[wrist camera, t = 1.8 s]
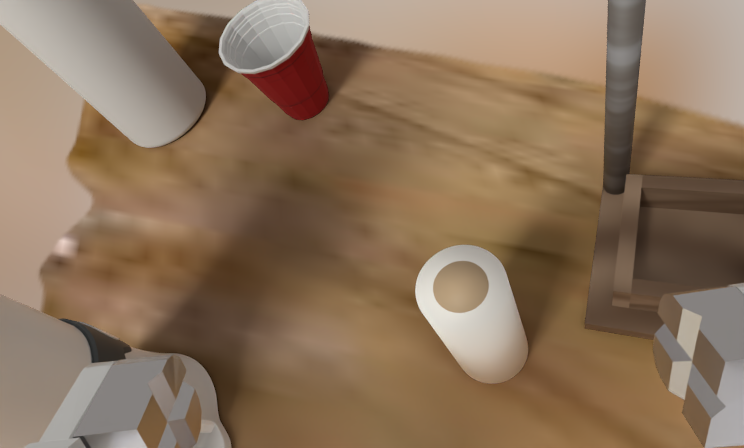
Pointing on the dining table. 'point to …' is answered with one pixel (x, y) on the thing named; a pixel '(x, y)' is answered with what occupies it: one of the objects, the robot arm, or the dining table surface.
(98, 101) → the cylinder vase
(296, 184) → the dining table surface
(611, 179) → the roll holder
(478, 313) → the paper roll
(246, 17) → the plastic cup
